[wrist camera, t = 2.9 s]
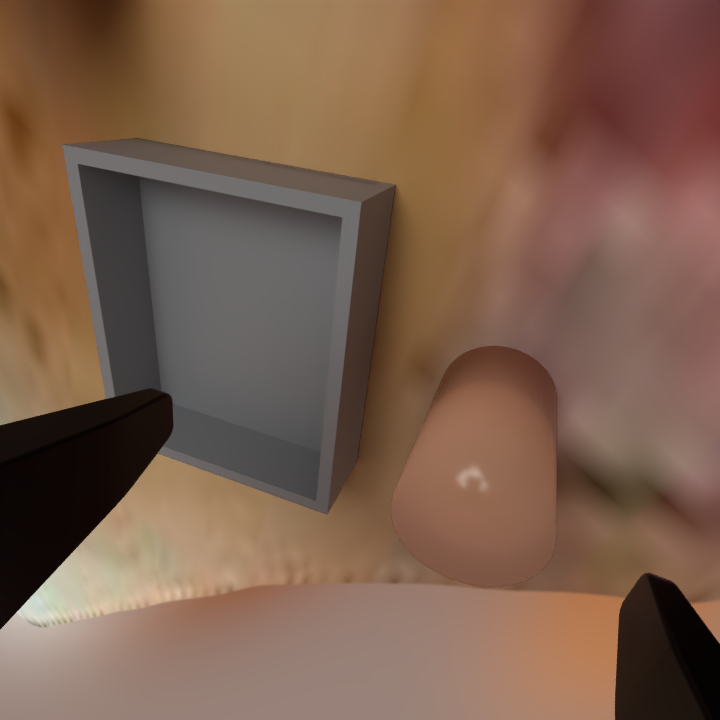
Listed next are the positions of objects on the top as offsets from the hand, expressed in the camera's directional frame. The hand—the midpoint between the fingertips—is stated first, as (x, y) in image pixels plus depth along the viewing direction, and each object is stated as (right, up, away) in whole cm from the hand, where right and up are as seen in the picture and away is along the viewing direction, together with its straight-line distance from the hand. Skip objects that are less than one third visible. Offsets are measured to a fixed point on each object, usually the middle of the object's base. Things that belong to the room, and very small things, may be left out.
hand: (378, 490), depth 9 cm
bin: (-5, +5, +15) cm, 17 cm away
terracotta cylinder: (+6, +1, +13) cm, 14 cm away
